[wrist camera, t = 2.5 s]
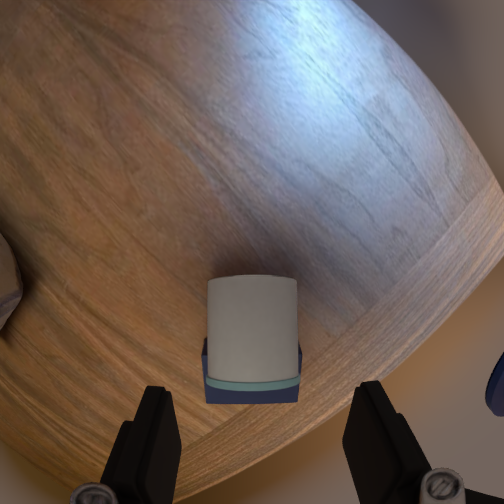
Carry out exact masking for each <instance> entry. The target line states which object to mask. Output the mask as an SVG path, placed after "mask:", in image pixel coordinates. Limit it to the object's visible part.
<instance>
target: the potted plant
mask: <svg viewBox="0 0 504 504" xmlns="http://www.w3.org/2000/svg"><path fill="white" fill-rule="evenodd" d="M22 294H23V283H22V281H21V273H20V270H19V267H18V263H17V260H16V258H15V256H14V254H13V250H12V248H11V246H10V245H9V244H8V243H7V241H6V240H5V239H4V237H3V236H2V234H1V233H0V330H1V329H2V327H3V325H4V324H5V322H6V320H7V319H8V317H9V316H10V315H11V313H12V311H13V310H14V309H15V308H16V306H17V305H18V303H19V301H20V300H21V297H22Z"/></svg>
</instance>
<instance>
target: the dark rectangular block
mask: <svg viewBox="0 0 504 504" xmlns="http://www.w3.org/2000/svg"><path fill="white" fill-rule="evenodd" d="M201 358H202V369H203V379H204V388H205V397H206V403H207V404H270V403H293V402H297V401H298V392H299V384H297V385H295V386H292V387H288V388H284V389H277V390H268V391H234V390H225V389H219V388H215V387H212V386H209V385H208V384H207V383H206V375H207V374H208V346H207V339H205V340H204V344H203V349H202V354H201ZM301 363H302V352H301V348H300V345H299V341H298V373H299V374H300V373H301Z"/></svg>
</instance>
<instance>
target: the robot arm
mask: <svg viewBox="0 0 504 504" xmlns="http://www.w3.org/2000/svg"><path fill="white" fill-rule="evenodd" d="M342 440H343V441H342V442H343V443H342V444H343V449H344V452H345V455H346V458H347V461H348V465H349V468H350V471H351V475H352V478H353V481H354V485H355V488H356V491H357V495H358V498H359V501H360V504H504V499H502V498H498V497H494V496H490V495H486V494H483V493H479V492H476V491H473V490H470V489H466V488H464V483H463V479H462V478H461V476H460V475H459V474H458V473H457V472H455V471H454V470H451V469H449V468H436V469H433V470H432V468H431V466H430V464H429V463H428V461H427V459H426V457H425V455H424V453H423V451H422V449H421V447H420V445H419V443H418V442H417V440H416V438H415V436H414V434H413V433H412V431H411V429H410V427H409V425H408V423H407V421H406V419H405V418H404V416H403V415H402V414H400V413H396V411H395V409H394V407H393V405H392V404H391V402H390V400H389V398H388V396H387V394H386V393H385V391H384V389H383V387H382V385H381V383H380V382H379V381H378V380H375V381H367V382H362V383H361V384H360V387H356V388H355V392H354V396H353V400H352V404H351V408H350V412H349V416H348V420H347V424H346V427H345V431H344V435H343V439H342ZM181 449H182V445H181V439H180V434H179V430H178V425H177V420H176V416H175V411H174V406H173V400H172V395H171V392H170V391H166V390H165V387H160V386H147V387H146V389H145V391H144V394H143V397H142V399H141V402H140V405H139V407H138V410H137V413H136V415H135V418H134V421H124V422H123V424H122V425H121V428H120V430H119V433H118V435H117V438H116V440H115V443H114V446H113V448H112V451H111V453H110V456H109V459H108V461H107V464H106V467H105V469H104V472H103V475H102V477H101V480H100V483H97V482H90V483H84V484H82V485H80V486H78V487H77V488H76V489H75V490H74V491H73V493H72V495H71V497H70V504H172V502H173V496H174V490H175V484H176V478H177V473H178V467H179V461H180V456H181Z"/></svg>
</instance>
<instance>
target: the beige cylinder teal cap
mask: <svg viewBox="0 0 504 504" xmlns="http://www.w3.org/2000/svg"><path fill="white" fill-rule="evenodd" d="M207 346H208V374H207V375H206V383H207V384H208V385H209V386H212V387H215V388H219V389H225V390H234V391H268V390H277V389H284V388H288V387H292V386H295V385H297V384H299V383H300V374H299V373H298V311H297V281H296V279H294V278H291V277H285V276H276V275H234V276H223V277H217V278H213V279H210V280H208V290H207Z"/></svg>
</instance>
